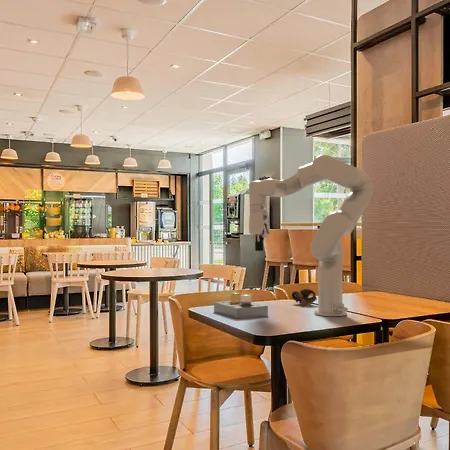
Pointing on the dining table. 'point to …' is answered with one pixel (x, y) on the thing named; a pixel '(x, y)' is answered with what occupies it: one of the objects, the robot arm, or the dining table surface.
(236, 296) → the bushing
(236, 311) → the jig
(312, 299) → the brown animal figurine
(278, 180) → the robot arm
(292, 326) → the dining table surface
